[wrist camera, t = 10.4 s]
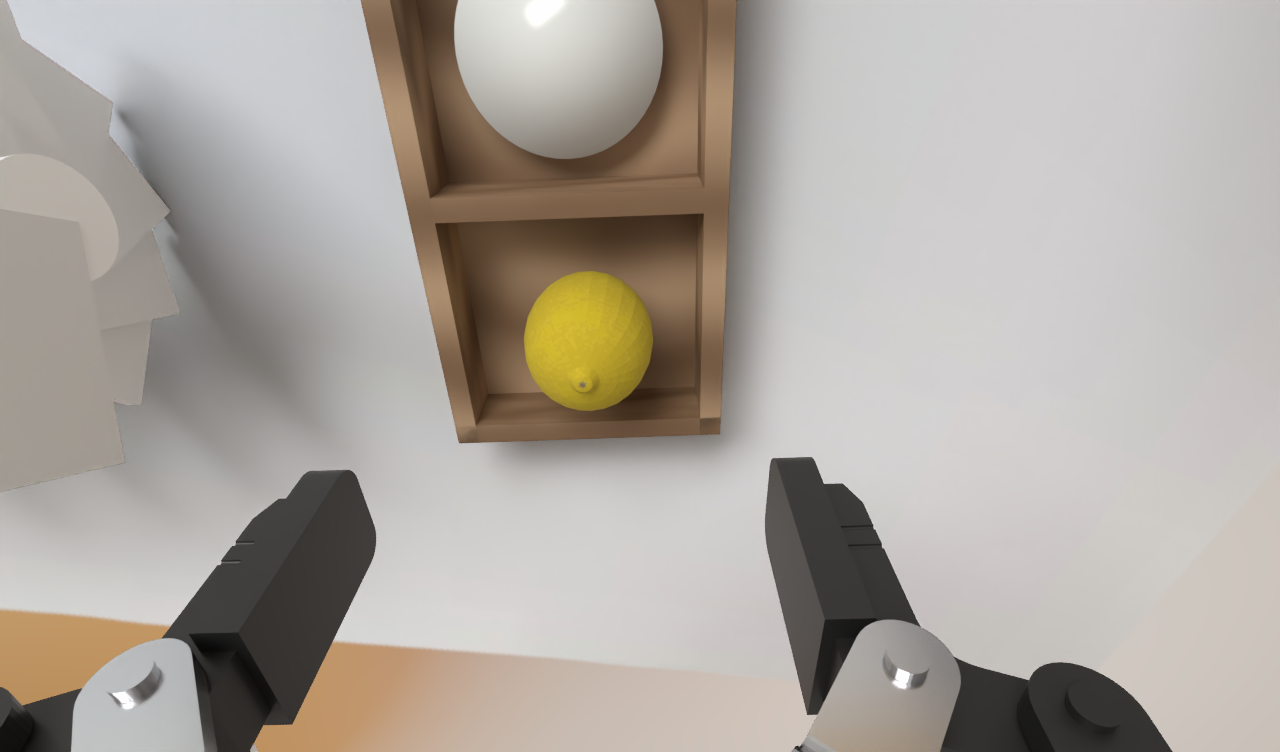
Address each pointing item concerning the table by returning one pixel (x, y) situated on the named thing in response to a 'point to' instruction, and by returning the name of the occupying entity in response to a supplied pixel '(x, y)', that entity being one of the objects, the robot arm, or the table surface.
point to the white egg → (560, 69)
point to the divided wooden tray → (566, 225)
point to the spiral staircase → (69, 271)
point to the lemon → (588, 340)
